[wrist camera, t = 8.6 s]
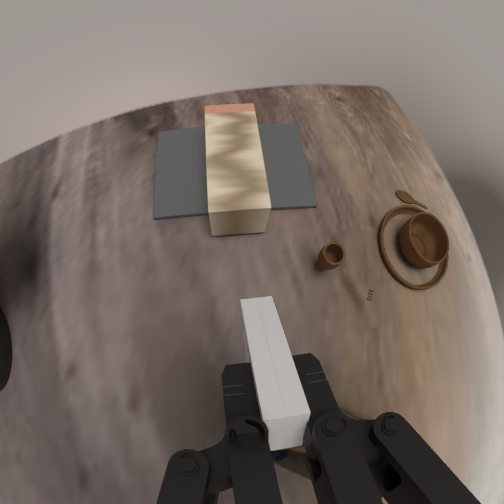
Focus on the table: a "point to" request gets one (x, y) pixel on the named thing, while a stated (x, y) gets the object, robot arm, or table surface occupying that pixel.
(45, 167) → the table surface
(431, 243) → the place setting
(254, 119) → the birch block
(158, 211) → the rubber mat
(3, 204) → the table surface
